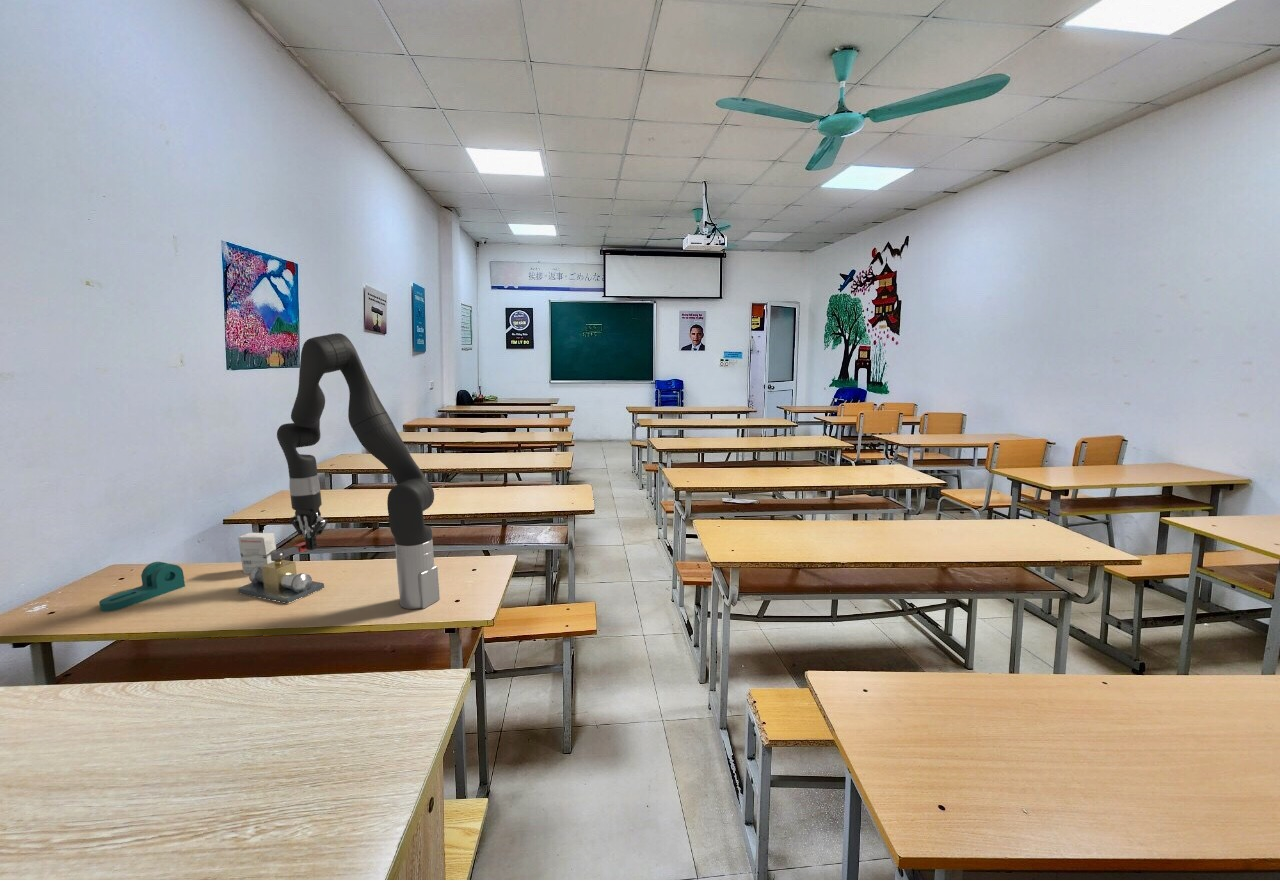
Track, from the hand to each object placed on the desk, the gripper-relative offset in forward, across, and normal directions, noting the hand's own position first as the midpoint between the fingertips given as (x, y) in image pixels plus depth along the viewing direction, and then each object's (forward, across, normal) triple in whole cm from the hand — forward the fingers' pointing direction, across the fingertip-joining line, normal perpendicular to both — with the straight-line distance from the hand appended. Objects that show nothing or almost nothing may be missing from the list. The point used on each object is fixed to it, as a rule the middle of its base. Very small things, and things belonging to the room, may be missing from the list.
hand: (311, 549), depth 168 cm
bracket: (+10, -36, -25) cm, 45 cm away
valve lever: (0, -3, -4) cm, 5 cm away
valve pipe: (+10, -3, -8) cm, 13 cm away
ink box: (+10, -23, 0) cm, 25 cm away
